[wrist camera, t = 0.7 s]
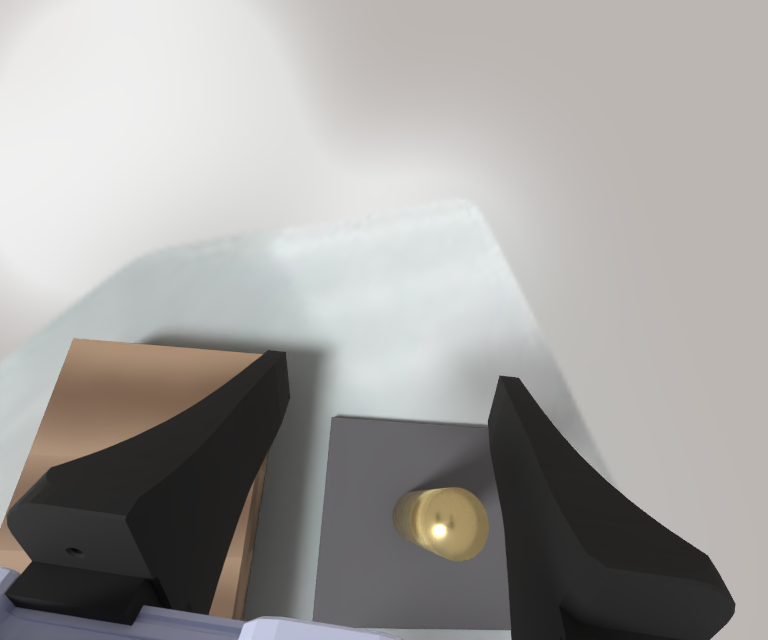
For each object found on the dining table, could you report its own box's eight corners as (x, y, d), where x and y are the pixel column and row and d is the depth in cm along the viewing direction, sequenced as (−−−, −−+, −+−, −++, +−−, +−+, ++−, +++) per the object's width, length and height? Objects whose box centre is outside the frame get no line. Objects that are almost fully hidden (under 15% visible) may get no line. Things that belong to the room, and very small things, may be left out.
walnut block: (231, 691, 22) (214, 728, 19) (-9, 691, 21) (-78, 731, 17) (280, 373, 30) (274, 355, 26) (105, 359, 28) (73, 338, 25)
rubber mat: (507, 627, 25) (511, 630, 25) (312, 624, 24) (311, 627, 23) (494, 429, 30) (497, 428, 30) (331, 418, 29) (331, 417, 28)
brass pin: (438, 543, 26) (491, 562, 18) (391, 541, 26) (424, 560, 18) (437, 492, 27) (486, 488, 19) (393, 490, 27) (424, 485, 19)
